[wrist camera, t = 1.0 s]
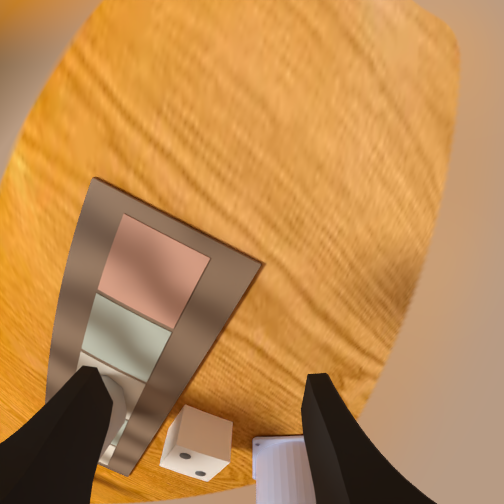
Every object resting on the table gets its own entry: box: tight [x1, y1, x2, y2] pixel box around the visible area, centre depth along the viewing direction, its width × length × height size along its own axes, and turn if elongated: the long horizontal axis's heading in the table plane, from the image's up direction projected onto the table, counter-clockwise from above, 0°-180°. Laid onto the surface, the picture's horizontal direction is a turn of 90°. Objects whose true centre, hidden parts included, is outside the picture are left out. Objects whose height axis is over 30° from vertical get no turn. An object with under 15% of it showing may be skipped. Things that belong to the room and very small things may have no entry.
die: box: [159, 404, 233, 481], centre depth 26 cm, size 5×5×5 cm
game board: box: [45, 177, 261, 477], centre depth 26 cm, size 37×13×1 cm, turn 151°
